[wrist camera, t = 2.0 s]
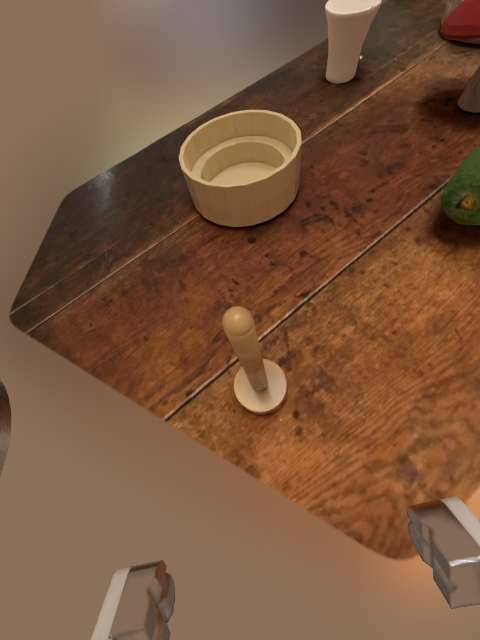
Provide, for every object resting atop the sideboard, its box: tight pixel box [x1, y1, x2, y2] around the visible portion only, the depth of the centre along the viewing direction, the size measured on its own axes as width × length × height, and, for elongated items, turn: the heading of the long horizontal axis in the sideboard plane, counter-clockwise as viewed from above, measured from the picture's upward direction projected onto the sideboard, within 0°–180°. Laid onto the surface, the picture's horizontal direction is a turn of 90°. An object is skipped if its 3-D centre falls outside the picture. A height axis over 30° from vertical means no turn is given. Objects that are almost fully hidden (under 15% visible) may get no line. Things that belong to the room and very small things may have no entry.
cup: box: [325, 0, 382, 84], centre depth 47 cm, size 9×9×10 cm
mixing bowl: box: [179, 110, 302, 227], centre depth 38 cm, size 16×16×7 cm
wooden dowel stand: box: [222, 306, 287, 415], centre depth 20 cm, size 5×5×17 cm
